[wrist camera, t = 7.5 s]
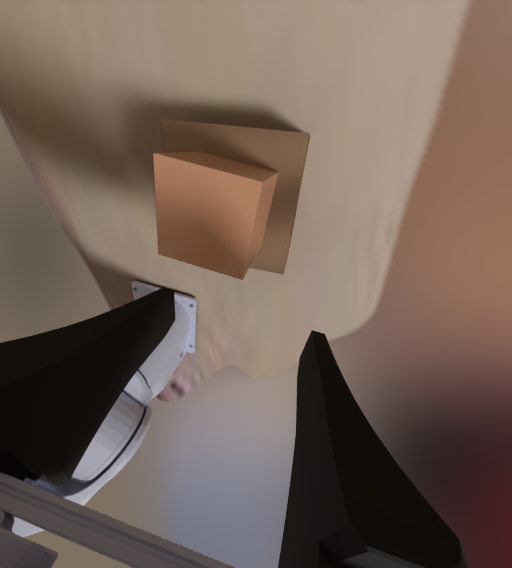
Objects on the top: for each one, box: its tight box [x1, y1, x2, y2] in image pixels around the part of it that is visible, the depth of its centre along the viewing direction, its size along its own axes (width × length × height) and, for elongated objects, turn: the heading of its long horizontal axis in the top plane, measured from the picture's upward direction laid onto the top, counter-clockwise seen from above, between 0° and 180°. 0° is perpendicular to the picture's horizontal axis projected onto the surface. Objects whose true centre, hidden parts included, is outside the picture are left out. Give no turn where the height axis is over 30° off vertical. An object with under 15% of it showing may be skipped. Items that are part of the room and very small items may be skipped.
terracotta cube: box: [153, 152, 279, 280], centre depth 13 cm, size 5×5×5 cm
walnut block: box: [160, 119, 310, 274], centre depth 17 cm, size 9×9×4 cm
